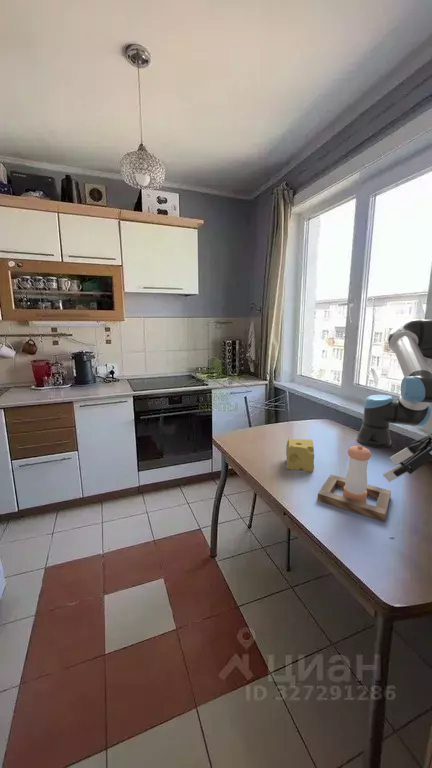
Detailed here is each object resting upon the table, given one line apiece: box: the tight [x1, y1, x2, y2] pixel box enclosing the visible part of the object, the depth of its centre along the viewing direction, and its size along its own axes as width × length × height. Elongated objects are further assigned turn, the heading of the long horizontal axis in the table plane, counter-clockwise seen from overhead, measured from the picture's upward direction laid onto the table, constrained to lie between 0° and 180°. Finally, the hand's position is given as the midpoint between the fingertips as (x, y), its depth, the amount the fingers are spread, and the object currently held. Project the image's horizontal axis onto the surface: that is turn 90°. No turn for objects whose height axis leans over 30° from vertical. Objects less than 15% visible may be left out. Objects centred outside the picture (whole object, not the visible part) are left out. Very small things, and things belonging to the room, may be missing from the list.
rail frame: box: [317, 474, 392, 523], centre depth 106 cm, size 20×16×2 cm
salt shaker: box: [342, 444, 372, 503], centre depth 104 cm, size 7×7×19 cm
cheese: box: [285, 437, 315, 473], centre depth 129 cm, size 10×11×10 cm
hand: (389, 469), depth 100 cm, fingers open, 13 cm apart
